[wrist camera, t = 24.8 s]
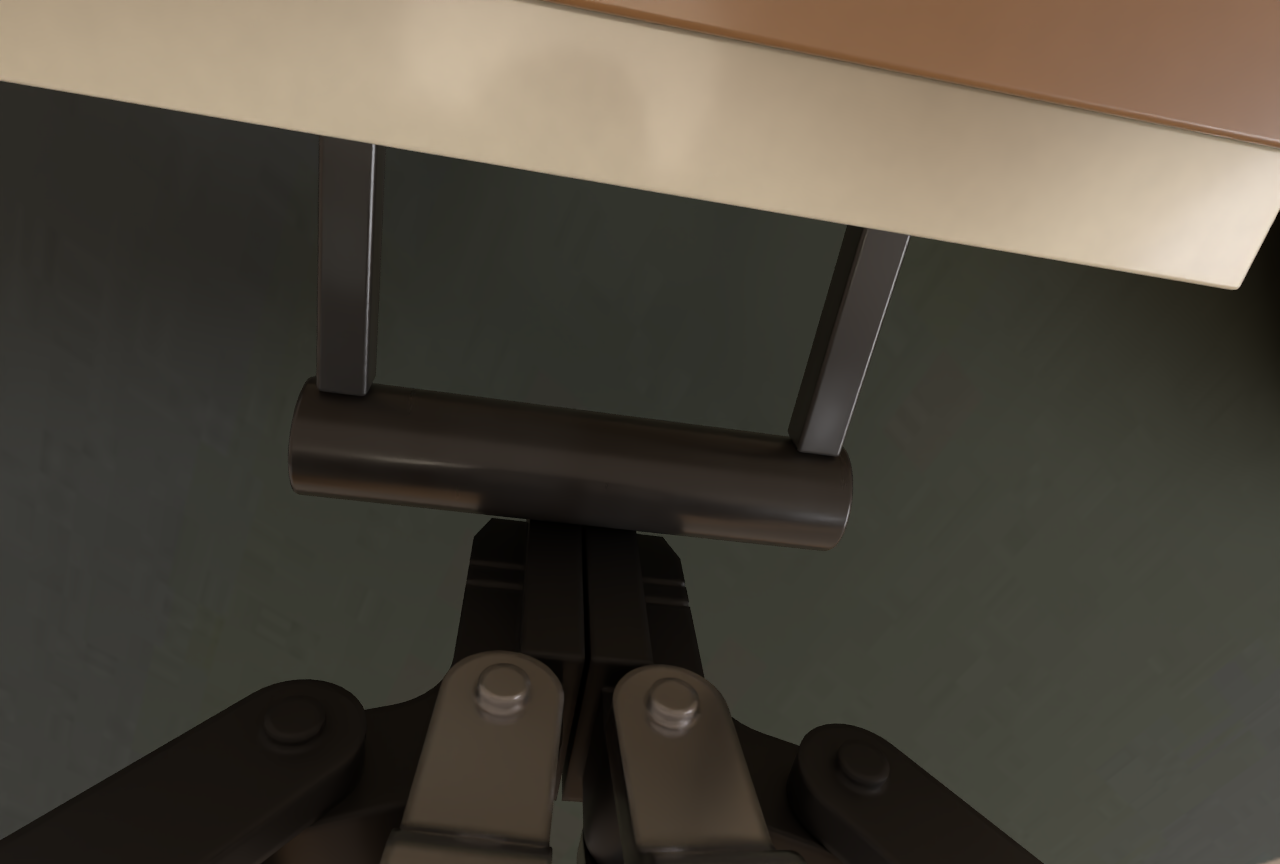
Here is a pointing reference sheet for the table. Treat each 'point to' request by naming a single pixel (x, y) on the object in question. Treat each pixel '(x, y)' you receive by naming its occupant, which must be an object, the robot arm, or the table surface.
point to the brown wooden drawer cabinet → (1032, 49)
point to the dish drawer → (652, 161)
